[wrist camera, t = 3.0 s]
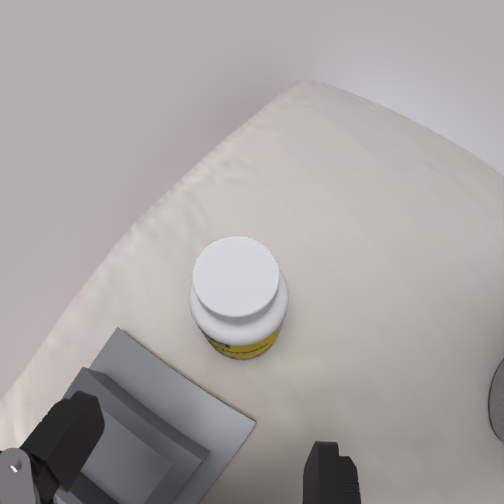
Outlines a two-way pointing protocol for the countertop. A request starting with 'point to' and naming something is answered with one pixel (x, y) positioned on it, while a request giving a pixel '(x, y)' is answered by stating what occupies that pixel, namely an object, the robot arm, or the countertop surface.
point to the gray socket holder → (151, 431)
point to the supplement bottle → (238, 296)
